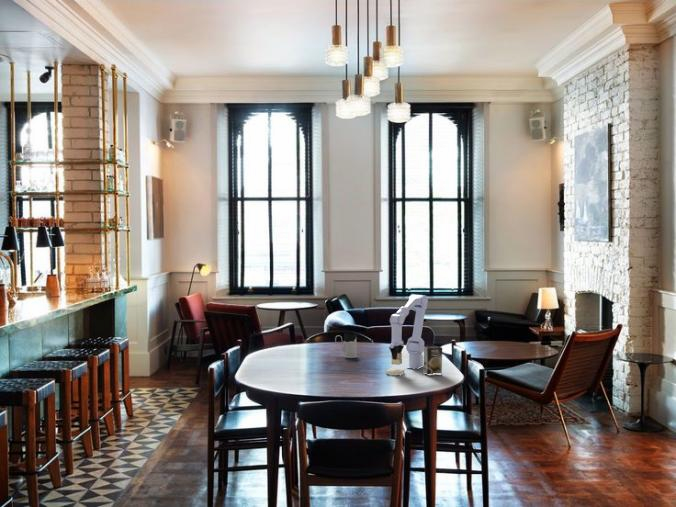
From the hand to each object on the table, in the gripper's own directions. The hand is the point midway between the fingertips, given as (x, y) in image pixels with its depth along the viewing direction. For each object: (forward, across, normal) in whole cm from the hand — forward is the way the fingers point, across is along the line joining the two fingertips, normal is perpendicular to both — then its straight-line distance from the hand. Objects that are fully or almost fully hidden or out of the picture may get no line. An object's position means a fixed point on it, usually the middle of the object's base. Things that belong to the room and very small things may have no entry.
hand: (396, 358), depth 385 cm
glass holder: (+9, +30, +49) cm, 58 cm away
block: (+3, 0, 0) cm, 3 cm away
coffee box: (+9, +10, -19) cm, 23 cm away
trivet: (+9, 0, 0) cm, 9 cm away
